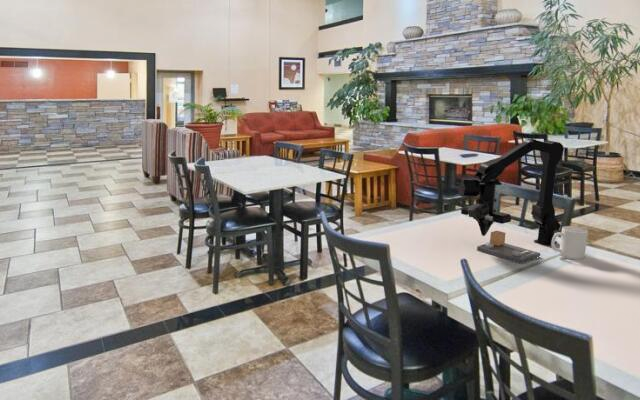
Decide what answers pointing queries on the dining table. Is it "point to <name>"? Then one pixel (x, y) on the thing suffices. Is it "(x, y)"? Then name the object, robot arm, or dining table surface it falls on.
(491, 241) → the orange cube
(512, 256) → the board
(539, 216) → the robot arm
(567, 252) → the cup
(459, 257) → the dining table surface
